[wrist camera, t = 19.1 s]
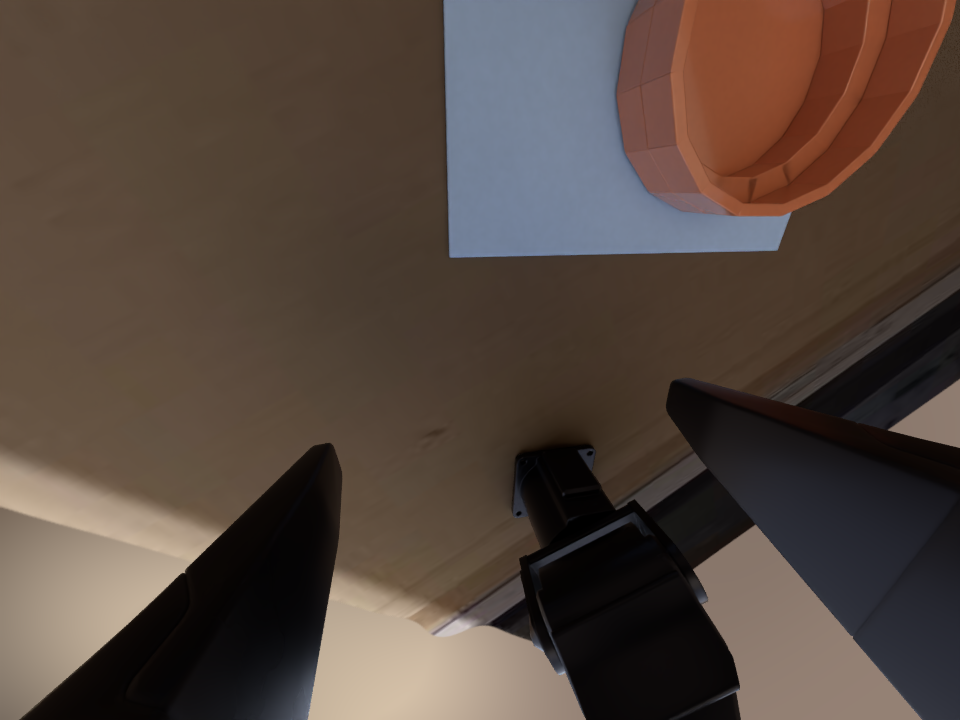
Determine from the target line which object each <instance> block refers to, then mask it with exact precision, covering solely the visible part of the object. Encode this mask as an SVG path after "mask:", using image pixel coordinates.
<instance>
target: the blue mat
mask: <svg viewBox="0 0 960 720" xmlns="http://www.w3.org/2000/svg"><path fill="white" fill-rule="evenodd" d="M637 2H638V0H443V15H444V58H445V101H446V145H447V188H448V231H449V257H450V258H451V257H498V256H545V255H592V254H639V253H686V252H733V251H777V249H778V247H779V244H780V241H781V239H782V236H783V233H784V231H785V228H786V225H787V223H788V220H789V217H790V215H791V212H790V213H788V214H786V215H783V216H779V217H738V216H727V215H715V214H704V213H693V212H682V211H680V210H678V209H676V208H675V207H673V206H671V205H669V204H668V203H666V202H664V201H663V200H661V199H659V198H658V197H656V196H654V195H653V194H651V193H649V192H648V191H647V189H646V187H645V186H644V184H643V182H642V181H641V179H640V177H639V176H638V174H637V172H636V170H635V169H634V167H633V165H632V164H631V162H630V160H629V159H628V157H627V155H626V154H625V150H624V144H623V137H622V131H621V124H620V118H619V111H618V104H617V98H616V92H617V86H618V79H619V72H620V66H621V59H622V52H623V46H624V39H625V32H626V27H627V25H628V22H629V20H630V18H631V15H632V13H633V11H634V9H635V6H636V4H637Z"/></svg>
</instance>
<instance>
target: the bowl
mask: <svg viewBox="0 0 960 720" xmlns="http://www.w3.org/2000/svg"><path fill="white" fill-rule="evenodd" d="M955 4H956V0H638V2H637V4H636V6H635V9H634V11H633V13H632V15H631V18H630V20H629V22H628V25H627V27H626V32H625V39H624V46H623V52H622V59H621V66H620V72H619V79H618V86H617V92H616V98H617V104H618V111H619V118H620V124H621V131H622V137H623V144H624V150H625V154H626V155H627V157H628V159H629V160H630V162H631V164H632V165H633V167H634V169H635V170H636V172H637V174H638V176H639V177H640V179H641V181H642V182H643V184H644V186H645V187H646V189H647V191H648V192H649V193H651V194H653V195H654V196H656V197H658V198H659V199H661V200H663V201H664V202H666V203H668V204H669V205H671V206H673V207H675V208H676V209H678V210H680V211H682V212H693V213H704V214H715V215H727V216H738V217H779V216H783V215H786V214H788V213H790V212H792V211H794V210H797V209H799V208H801V207H803V206H805V205H808V204H810V203H812V202H814V201H816V200H819V199H821V198H823V197H825V196H827V195H828V194H830V193H831V192H832V191H833V190H835V189H836V188H837V187H838V186H839V185H840V184H841V183H842V182H844V181H845V180H846V179H847V178H848V177H849V176H850V175H852V174H853V173H854V172H855V171H856V170H857V169H858V168H860V167H861V166H862V165H863V164H864V163H865V162H866V161H868V160H869V159H870V158H871V157H872V156H873V155H874V154H875V153H876V152H877V151H878V149H879V148H880V147H881V145H882V144H883V142H884V141H885V140H886V138H887V137H888V136H889V134H890V133H891V131H892V130H893V129H894V127H895V126H896V124H897V123H898V122H899V120H900V119H901V118H902V116H903V115H904V113H905V112H906V111H907V109H908V108H909V107H910V105H911V104H912V102H913V101H914V100H915V98H916V97H917V95H918V93H919V92H920V89H921V87H922V85H923V83H924V81H925V78H926V76H927V74H928V72H929V70H930V67H931V65H932V63H933V61H934V59H935V56H936V54H937V52H938V50H939V48H940V45H941V43H942V41H943V39H944V37H945V35H946V32H947V30H948V28H949V26H950V24H951V20H952V18H953V13H954V9H955Z"/></svg>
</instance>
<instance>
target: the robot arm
mask: <svg viewBox="0 0 960 720" xmlns="http://www.w3.org/2000/svg"><path fill="white" fill-rule="evenodd" d="M666 410H667V412H668V414H669V416H670V417H671V419H672V420H673V422H674V423H675V424H676V426H677V427H678V429H679V430H680V431H681V433H682V434H683V436H684V437H685V439H686V440H687V441H688V443H689V444H690V446H691V447H692V449H693V450H694V451H695V453H696V454H697V455H698V457H699V458H700V459H701V461H702V462H703V463H704V464H705V465H706V467H707V468H708V469H709V470H710V471H711V473H712V474H713V475H714V476H715V477H716V478H717V480H718V481H719V482H720V483H721V484H722V485H723V487H724V488H725V489H726V490H727V491H728V492H729V494H730V495H731V496H732V497H733V498H734V499H735V501H736V502H737V503H738V504H739V505H740V506H741V508H742V509H743V510H744V511H745V512H746V513H747V515H748V516H749V517H750V518H751V519H752V521H753V522H754V523H755V524H756V525H757V526H758V527H759V529H760V530H761V531H762V532H763V533H764V535H765V536H766V537H767V538H768V539H769V540H770V541H771V543H772V544H773V545H774V546H775V547H776V549H777V550H778V551H779V552H780V553H781V554H782V556H783V557H784V558H785V559H786V560H787V561H788V563H789V564H790V565H791V566H792V567H793V568H794V570H795V571H796V572H797V573H798V574H799V575H800V577H801V578H802V579H803V580H804V581H805V583H807V585H808V586H809V587H810V588H811V590H812V591H813V592H814V593H815V594H816V595H817V596H818V598H819V599H820V600H821V601H822V602H823V603H824V605H825V606H826V607H827V608H828V609H829V610H830V612H831V613H832V614H833V615H834V616H835V618H836V619H837V620H838V621H839V622H840V623H841V625H842V626H843V627H844V628H845V629H846V630H847V632H848V633H849V634H850V635H851V636H853V639H854V640H855V641H856V643H857V644H858V645H859V646H860V647H861V649H862V650H863V651H864V652H865V653H866V654H867V656H868V657H869V658H870V659H871V660H872V661H873V663H874V664H875V665H876V666H877V667H878V668H879V670H880V671H881V672H882V673H883V674H884V675H885V677H886V678H887V679H888V680H889V681H890V683H891V684H892V685H893V686H894V687H895V688H896V690H897V691H898V692H899V693H900V694H901V695H902V696H903V698H904V699H905V700H906V701H907V702H908V704H909V705H910V706H911V707H912V708H913V709H914V711H915V712H916V713H917V714H918V715H919V717H920V718H921V719H922V720H960V448H957V447H953V446H949V445H945V444H941V443H936V442H932V441H928V440H924V439H920V438H915V437H912V436H908V435H904V434H900V433H896V432H892V431H888V430H884V429H880V428H876V427H873V426H869V425H865V424H861V423H858V424H857V423H856V422H853V421H850V420H846V419H842V418H838V417H835V416H831V415H827V414H823V413H819V412H816V411H812V410H808V409H804V408H801V407H797V406H793V405H789V404H785V403H782V402H778V401H774V400H770V399H766V398H763V397H759V396H755V395H751V394H748V393H744V392H740V391H736V390H732V389H729V388H725V387H721V386H717V385H714V384H710V383H706V382H702V381H698V380H695V379H691V378H682V379H677V380H674V381H672V382H671V384H670V387H669V392H668V397H667V402H666ZM595 454H596V450H595V449H594V448H593V446H591V445H585V446H577V447H570V448H562V449H554V450H547V451H539V452H532V453H524V454H520V455H518V456H517V457H516V461H515V474H514V487H513V500H512V513H513V516H514V517H516V518H520V517H526V516H528V517H529V519H530V522H531V524H532V527H533V529H534V532H535V534H536V537H537V539H538V542H539V545H540V547H541V549H540V550H538V551H536V552H534V553H532V554H530V555H528V556H527V555H525V556H523V557H521V558H519V561H520V565H521V571H520V574H521V580H522V584H523V588H524V592H525V597H526V602H527V606H528V611H529V622H530V635H531V639H532V642H533V644H534V646H535V647H537V648H539V649H540V650H542V651H544V652H545V655H546V656H547V658H548V659H549V661H550V663H551V665H552V666H553V668H554V670H555V671H556V672H557V673H558V674H559V675H562V674H564V673H566V674H567V677H568V680H569V682H570V684H571V687H572V689H573V691H574V694H575V696H576V698H577V701H578V703H579V706H580V708H581V710H582V713H583V714H584V716H585V718H586V720H741V718H740V712H739V707H738V700H737V695H736V691H738V690H740V685H739V680H738V675H737V671H736V667H735V663H734V659H733V656H732V654H731V653H730V651H729V650H728V647H727V645H726V643H725V641H724V639H723V638H722V637H721V635H720V633H719V632H718V630H717V628H716V627H715V625H714V624H713V622H712V621H711V619H710V617H709V616H708V614H707V613H706V611H705V610H704V608H703V606H702V605H701V604H703V603H705V602H707V601H708V597H707V595H706V592H705V590H704V588H703V586H702V584H701V583H700V581H699V579H698V577H697V576H696V574H695V573H694V571H693V569H692V568H691V566H690V565H689V563H688V562H687V560H686V559H685V557H684V556H683V555H682V553H681V552H680V550H679V549H678V548H677V547H676V545H675V544H674V543H673V542H672V540H671V539H670V538H669V537H668V536H667V535H666V534H665V533H664V531H663V530H662V529H661V528H660V527H659V526H658V525H657V524H656V523H655V521H654V520H653V519H652V518H651V517H650V516H649V515H648V514H647V513H646V511H645V510H644V509H643V508H642V507H641V506H640V505H639V504H638V503H637V501H636V500H635V499H634V500H632V501H630V502H628V503H627V504H628V505H626V506H624V507H622V508H620V509H618V510H616V509H615V508H614V506H613V505H612V503H611V502H610V500H609V499H608V497H607V496H606V494H605V493H604V492H603V490H602V489H601V485H600V483H599V482H598V480H597V479H596V477H595V476H594V474H593V473H592V468H593V463H594V459H595ZM522 460H524V461H522ZM341 491H342V471H341V467H340V464H339V461H338V458H337V455H336V452H335V449H334V446H333V445H332V444H331V443H325V444H320V445H315V446H313V447H311V448H310V449H309V450H308V451H307V452H306V453H305V454H304V455H303V456H302V457H301V458H300V459H299V460H298V461H297V462H296V463H295V464H294V465H293V466H292V467H291V468H290V469H289V470H288V471H286V472H285V473H284V474H283V475H282V476H281V477H280V478H279V479H278V480H277V481H276V482H275V483H274V484H273V485H272V486H271V487H270V488H269V489H268V490H267V491H266V492H265V493H264V494H263V495H262V496H261V497H260V498H259V499H258V500H257V501H256V502H255V503H254V504H252V505H251V506H250V507H249V508H248V509H247V510H246V511H245V512H244V513H243V514H242V515H241V516H240V517H239V518H238V519H237V520H236V521H235V522H234V523H233V524H232V525H231V526H230V527H229V528H228V529H227V530H226V531H225V532H224V533H223V534H222V535H221V536H220V537H218V538H217V539H216V540H215V541H214V542H213V543H212V544H211V545H210V546H209V547H208V548H207V549H206V550H205V551H204V552H203V553H202V554H201V555H200V556H199V557H198V558H197V559H196V560H195V561H194V562H193V563H192V564H191V565H190V566H189V567H188V568H187V569H186V570H185V573H182V574H180V575H179V576H178V577H177V578H176V579H175V580H174V581H173V582H172V583H171V584H170V585H169V586H168V587H167V588H166V589H165V590H164V591H163V592H162V593H161V594H159V595H158V596H157V597H156V598H155V599H154V600H153V601H152V602H151V603H150V604H149V605H148V606H147V607H146V608H145V609H144V610H142V611H141V612H140V613H139V614H138V615H137V616H136V617H135V618H134V619H133V620H132V621H131V622H130V623H129V624H128V625H126V627H124V628H123V629H122V630H121V631H120V632H119V633H117V634H116V635H115V636H114V637H113V638H112V639H111V640H110V641H109V642H108V643H106V644H105V645H104V646H103V647H102V648H101V649H100V650H98V651H97V652H96V653H95V654H94V655H93V656H92V657H91V658H89V659H88V660H87V661H86V662H85V663H84V664H83V665H82V666H80V667H79V668H78V669H77V670H76V671H75V672H74V673H72V674H71V675H70V676H69V677H68V678H67V679H66V680H64V681H63V682H62V683H61V684H60V685H59V686H58V687H56V688H55V689H54V690H53V691H52V692H51V693H49V694H48V695H47V696H46V697H45V698H44V699H43V700H41V701H40V702H39V703H38V704H37V705H36V706H35V707H34V708H32V709H31V710H30V711H29V712H28V713H27V714H25V715H24V716H23V717H22V718H21V719H20V720H308V715H309V709H310V703H311V697H312V692H313V686H314V680H315V674H316V668H317V662H318V657H319V651H320V646H321V640H322V634H323V628H324V622H325V617H326V610H327V605H328V599H329V594H330V588H331V582H332V576H333V571H334V565H335V559H336V553H337V547H338V540H339V529H340V510H341Z"/></svg>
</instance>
